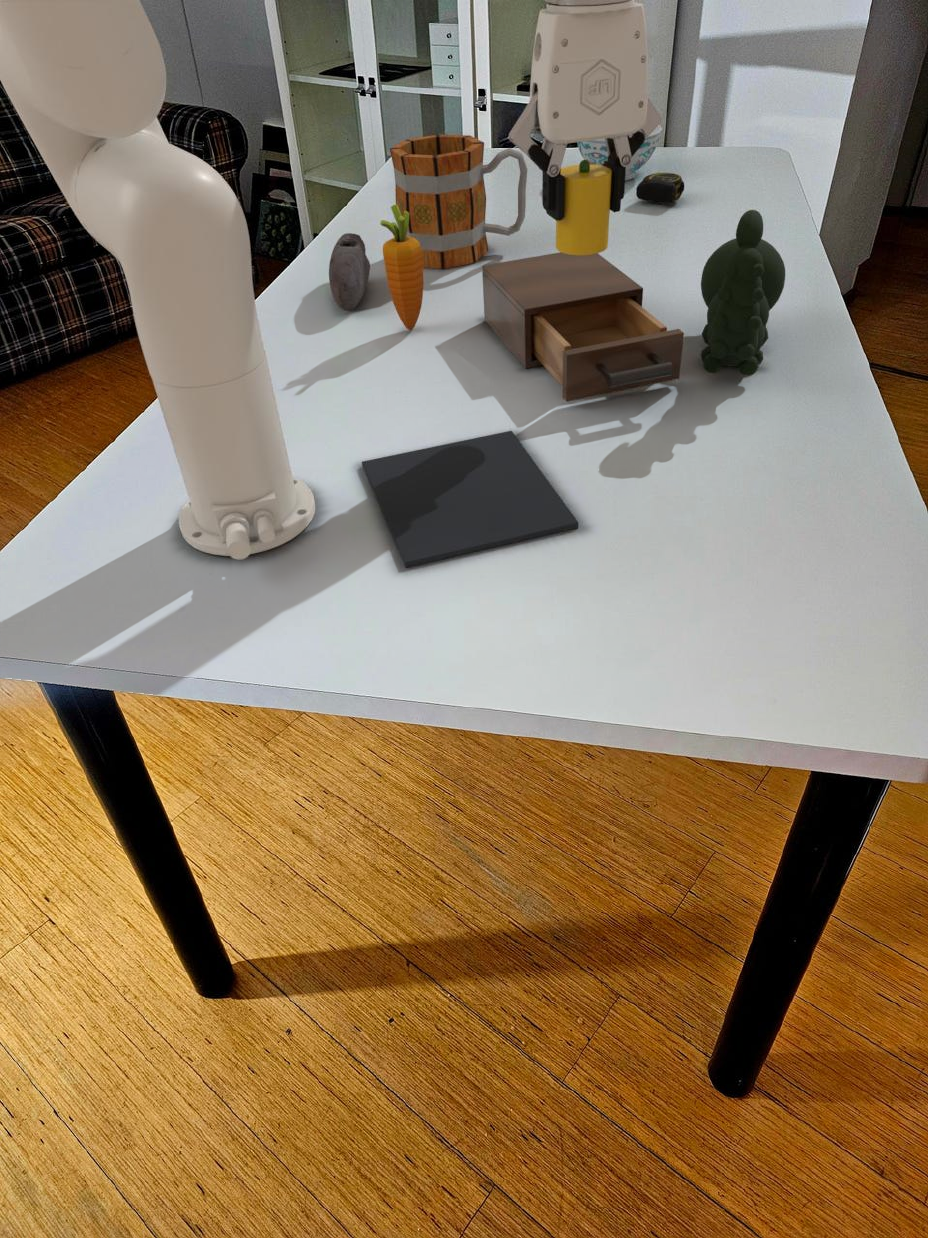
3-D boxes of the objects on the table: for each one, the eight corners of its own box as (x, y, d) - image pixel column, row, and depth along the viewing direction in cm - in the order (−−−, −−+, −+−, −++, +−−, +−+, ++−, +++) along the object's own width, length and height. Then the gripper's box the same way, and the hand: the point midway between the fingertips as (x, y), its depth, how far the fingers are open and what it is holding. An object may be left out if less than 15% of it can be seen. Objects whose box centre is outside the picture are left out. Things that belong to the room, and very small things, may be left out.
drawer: (697, 394, 95) (703, 347, 91) (581, 419, 92) (582, 371, 89) (623, 330, 109) (626, 286, 105) (520, 349, 106) (519, 306, 103)
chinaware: (606, 193, 154) (608, 144, 149) (558, 175, 164) (559, 129, 159) (675, 177, 159) (679, 129, 154) (624, 160, 169) (627, 115, 164)
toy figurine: (769, 412, 96) (777, 303, 113) (801, 237, 83) (806, 142, 99) (680, 405, 99) (701, 299, 115) (698, 234, 85) (719, 142, 101)
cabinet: (639, 346, 107) (643, 287, 102) (525, 368, 104) (524, 309, 100) (588, 301, 118) (590, 246, 114) (484, 320, 116) (481, 265, 111)
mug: (397, 271, 131) (385, 160, 121) (403, 241, 141) (392, 137, 132) (530, 263, 130) (529, 151, 120) (526, 234, 140) (525, 128, 131)
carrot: (424, 338, 112) (412, 213, 103) (387, 337, 113) (371, 213, 104) (433, 322, 116) (422, 200, 106) (396, 321, 117) (383, 201, 107)
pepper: (616, 250, 88) (621, 162, 83) (567, 258, 87) (569, 169, 82) (595, 235, 92) (598, 150, 87) (548, 242, 91) (549, 156, 86)
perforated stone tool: (363, 319, 118) (355, 266, 114) (324, 321, 119) (315, 268, 114) (375, 278, 130) (369, 229, 125) (340, 280, 130) (332, 231, 125)
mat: (578, 527, 79) (578, 522, 79) (405, 567, 76) (404, 562, 76) (511, 435, 92) (511, 430, 92) (362, 466, 90) (361, 461, 89)
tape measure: (633, 204, 149) (634, 180, 146) (651, 193, 153) (653, 169, 150) (670, 209, 145) (672, 185, 143) (688, 197, 149) (691, 173, 147)
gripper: (511, 0, 71) (514, 236, 83) (702, -19, 74) (679, 210, 86) (481, -8, 77) (488, 214, 88) (661, -25, 80) (644, 191, 92)
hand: (582, 210), depth 87 cm, fingers closed on pepper, 5 cm apart
